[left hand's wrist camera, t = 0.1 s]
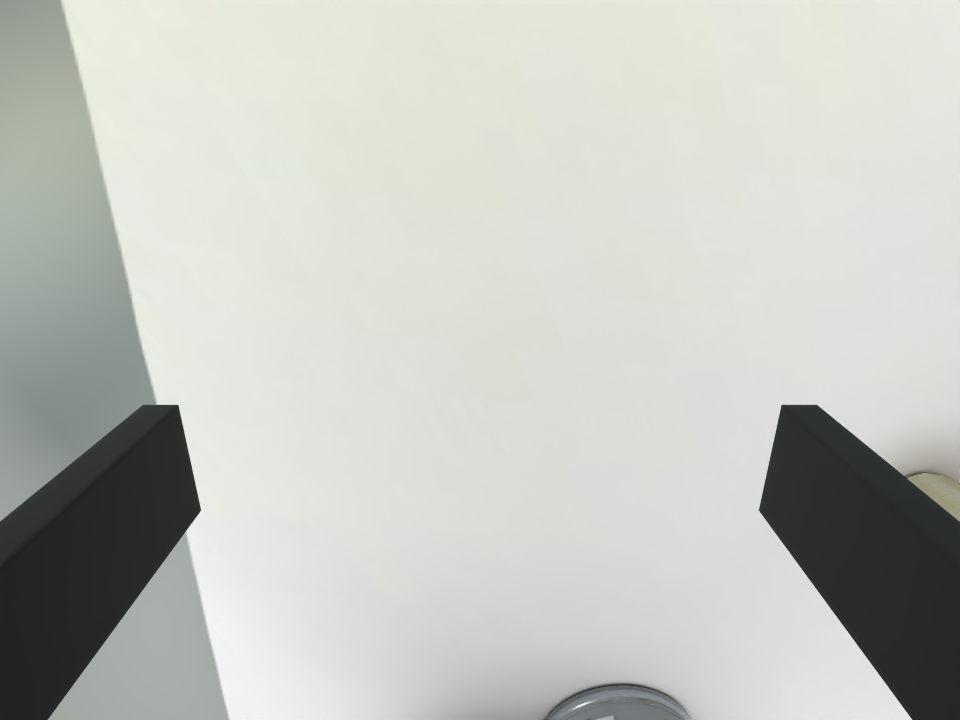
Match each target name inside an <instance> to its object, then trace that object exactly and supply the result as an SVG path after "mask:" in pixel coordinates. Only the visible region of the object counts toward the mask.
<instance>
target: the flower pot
mask: <svg viewBox="0 0 960 720" xmlns="http://www.w3.org/2000/svg"><path fill="white" fill-rule="evenodd" d="M907 479H908V480H909V481H911V482H912V483H913V484H914V485H916V486H917V487H918V488H919V489H920V490H922V491H923V492H924V493H925V494H927V495H928V496H929V497H930V498H931V499H933V500H934V501H935V502H936V503H938V504H939V505H940V506H941V507H943V508H944V509H945V510H946V511H947V512H949V513H950V514H951V515H952V516H954V517H955V518H956V519H957V520H958V521H960V484H959V483H958V482H956V481H954V480H952V479H951V478H949V477H947V476H944V475H937V474H930V473H922V474H917V475H914V476H911V477H908V478H907Z"/></svg>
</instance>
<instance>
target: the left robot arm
mask: <svg viewBox="0 0 960 720" xmlns="http://www.w3.org/2000/svg"><path fill="white" fill-rule="evenodd" d="M200 511H201V508H200V503H199V499H198V494H197V489H196V485H195V480H194V475H193V471H192V466H191V462H190V457H189V452H188V448H187V443H186V438H185V434H184V429H183V425H182V420H181V415H180V411H179V406H178V405H142V406H141V407H140V408H139V409H138V410H136V411H135V412H134V413H133V414H132V415H130V416H129V417H128V418H127V419H125V420H124V421H123V422H122V423H120V424H119V425H118V426H117V427H116V428H114V429H113V430H112V431H111V432H109V433H108V434H107V435H106V436H104V437H103V438H102V439H101V440H100V441H98V442H97V443H96V444H95V445H93V446H92V447H91V448H90V449H89V450H87V451H86V452H85V453H84V454H82V455H81V456H80V457H79V458H78V459H76V460H75V461H74V462H73V463H71V464H70V465H69V466H68V467H66V468H65V469H64V470H63V471H62V472H60V473H59V474H58V475H57V476H55V477H54V478H53V479H52V480H51V481H49V482H48V483H47V484H46V485H44V486H43V487H42V488H41V489H40V490H38V491H37V492H36V493H35V494H33V495H32V496H31V497H30V498H29V499H27V500H26V501H25V502H24V503H22V504H21V505H20V506H19V507H17V508H16V509H15V510H14V511H13V512H11V513H10V514H9V515H8V516H6V517H5V518H4V519H3V520H2V521H0V720H48V718H49V717H50V716H51V714H52V713H53V712H54V710H55V709H56V708H57V706H58V705H59V703H60V702H61V701H62V699H63V698H64V697H65V695H66V694H67V693H68V691H69V690H70V688H71V687H72V686H73V684H74V683H75V682H76V680H77V679H78V678H79V676H80V675H81V673H82V672H83V671H84V669H85V668H86V667H87V665H88V664H89V663H90V661H91V660H92V658H93V657H94V656H95V654H96V653H97V652H98V650H99V649H100V648H101V646H102V645H103V643H104V642H105V641H106V639H107V638H108V637H109V635H110V634H111V633H112V631H113V630H114V628H115V627H116V626H117V624H118V623H119V622H120V620H121V619H122V618H123V616H124V615H125V613H126V612H127V611H128V609H129V608H130V607H131V605H132V604H133V603H134V601H135V600H136V598H137V597H138V596H139V594H140V593H141V592H142V590H143V589H144V588H145V586H146V585H147V583H148V582H149V581H150V579H151V578H152V577H153V575H154V574H155V573H156V571H157V570H158V568H159V567H160V566H161V564H162V563H163V562H164V560H165V559H166V558H167V556H168V555H169V553H170V552H171V551H172V549H173V548H174V547H175V545H176V544H177V543H178V541H179V540H180V538H181V537H182V536H183V534H184V533H185V532H186V530H187V529H188V528H189V526H190V525H191V523H192V522H193V521H194V519H195V518H196V517H197V515H198V514H199V513H200ZM759 511H760V513H761V514H762V515H763V517H764V518H765V519H766V521H767V522H768V523H769V525H770V526H771V528H772V529H773V530H774V532H775V533H776V534H777V536H778V537H779V538H780V540H781V541H782V543H783V544H784V545H785V547H786V548H787V549H788V551H789V552H790V553H791V555H792V556H793V558H794V559H795V560H796V562H797V563H798V564H799V566H800V567H801V568H802V570H803V571H804V573H805V574H806V575H807V577H808V578H809V579H810V581H811V582H812V583H813V585H814V586H815V588H816V589H817V590H818V592H819V593H820V594H821V596H822V597H823V598H824V600H825V601H826V603H827V604H828V605H829V607H830V608H831V609H832V611H833V612H834V613H835V615H836V616H837V618H838V619H839V620H840V622H841V623H842V624H843V626H844V627H845V628H846V630H847V631H848V633H849V634H850V635H851V637H852V638H853V639H854V641H855V642H856V643H857V645H858V646H859V648H860V649H861V650H862V652H863V653H864V654H865V656H866V657H867V658H868V660H869V661H870V663H871V664H872V665H873V667H874V668H875V669H876V671H877V672H878V673H879V675H880V676H881V678H882V679H883V680H884V682H885V683H886V684H887V686H888V687H889V688H890V690H891V691H892V693H893V694H894V695H895V697H896V698H897V699H898V701H899V702H900V703H901V705H902V706H903V708H904V709H905V710H906V712H907V713H908V714H909V716H910V717H911V718H912V720H960V521H958V520H957V519H956V518H955V517H954V516H952V515H951V514H950V513H949V512H947V511H946V510H945V509H944V508H943V507H941V506H940V505H939V504H938V503H936V502H935V501H934V500H933V499H931V498H930V497H929V496H928V495H927V494H925V493H924V492H923V491H922V490H920V489H919V488H918V487H917V486H916V485H914V484H913V483H912V482H911V481H909V480H908V479H907V478H906V477H905V476H903V475H902V474H901V473H900V472H898V471H897V470H896V469H895V468H894V467H892V466H891V465H890V464H889V463H887V462H886V461H885V460H884V459H882V458H881V457H880V456H879V455H878V454H876V453H875V452H874V451H873V450H871V449H870V448H869V447H868V446H867V445H865V444H864V443H863V442H862V441H860V440H859V439H858V438H857V437H856V436H854V435H853V434H852V433H851V432H849V431H848V430H847V429H846V428H845V427H843V426H842V425H841V424H840V423H838V422H837V421H836V420H835V419H833V418H832V417H831V416H830V415H829V414H827V413H826V412H825V411H824V410H822V409H821V408H820V407H819V406H818V405H782V406H781V411H780V415H779V420H778V425H777V429H776V434H775V438H774V443H773V448H772V452H771V457H770V462H769V466H768V471H767V475H766V480H765V485H764V489H763V494H762V499H761V503H760V508H759ZM545 720H690V718H689V716H688V715H687V713H686V712H685V710H684V709H683V708H682V707H681V706H680V705H679V704H678V703H677V702H676V701H674V700H673V699H671V698H670V697H668V696H666V695H664V694H662V693H660V692H657V691H655V690H651V689H648V688H643V687H638V686H626V685H618V686H606V687H600V688H596V689H592V690H588V691H585V692H582V693H580V694H578V695H575V696H573V697H571V698H569V699H568V700H566V701H564V702H563V703H562V704H560V705H559V706H558V707H556V708H555V709H554V710H553V711H552V712H551V713H550V714H549V715H548V717H547V718H546V719H545Z"/></svg>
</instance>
